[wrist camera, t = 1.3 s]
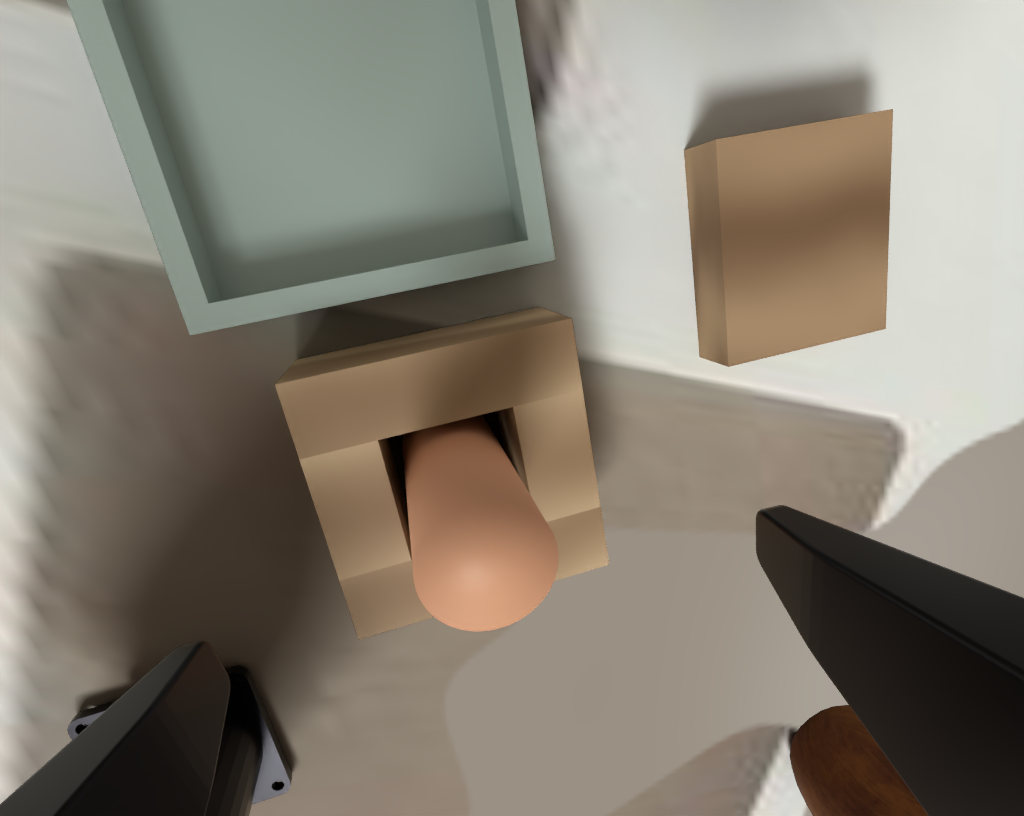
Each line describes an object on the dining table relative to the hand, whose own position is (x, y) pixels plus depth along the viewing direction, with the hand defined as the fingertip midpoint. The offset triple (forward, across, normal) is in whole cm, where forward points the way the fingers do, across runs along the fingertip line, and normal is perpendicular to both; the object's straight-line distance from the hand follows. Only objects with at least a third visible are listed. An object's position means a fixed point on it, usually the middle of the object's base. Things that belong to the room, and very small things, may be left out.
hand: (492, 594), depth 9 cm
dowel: (+12, +1, +3) cm, 13 cm away
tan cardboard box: (+15, -13, -1) cm, 20 cm away
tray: (+14, +2, -9) cm, 16 cm away
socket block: (+12, +1, +3) cm, 13 cm away
